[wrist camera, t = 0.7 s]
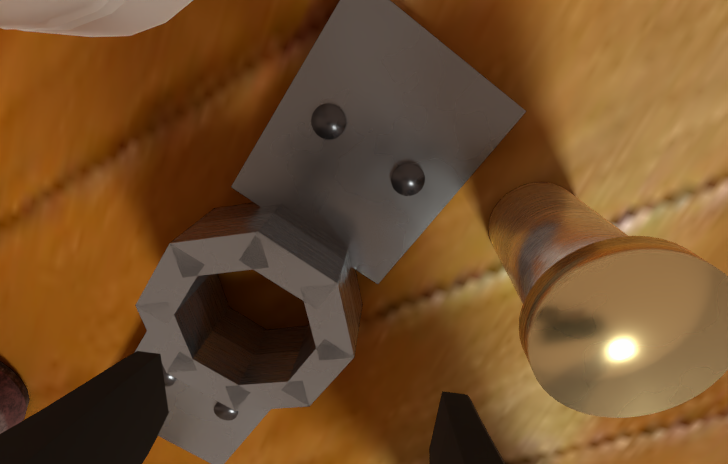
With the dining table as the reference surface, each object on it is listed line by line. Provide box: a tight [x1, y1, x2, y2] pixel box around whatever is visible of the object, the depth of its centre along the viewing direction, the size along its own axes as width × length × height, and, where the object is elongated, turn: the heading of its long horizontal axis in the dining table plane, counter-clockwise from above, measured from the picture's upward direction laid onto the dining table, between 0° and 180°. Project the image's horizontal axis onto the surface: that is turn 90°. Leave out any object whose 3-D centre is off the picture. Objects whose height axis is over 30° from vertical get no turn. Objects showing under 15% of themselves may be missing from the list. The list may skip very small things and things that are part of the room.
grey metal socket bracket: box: [134, 0, 526, 464], centre depth 18 cm, size 27×9×4 cm, turn 145°
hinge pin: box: [488, 182, 728, 418], centre depth 14 cm, size 5×5×8 cm
